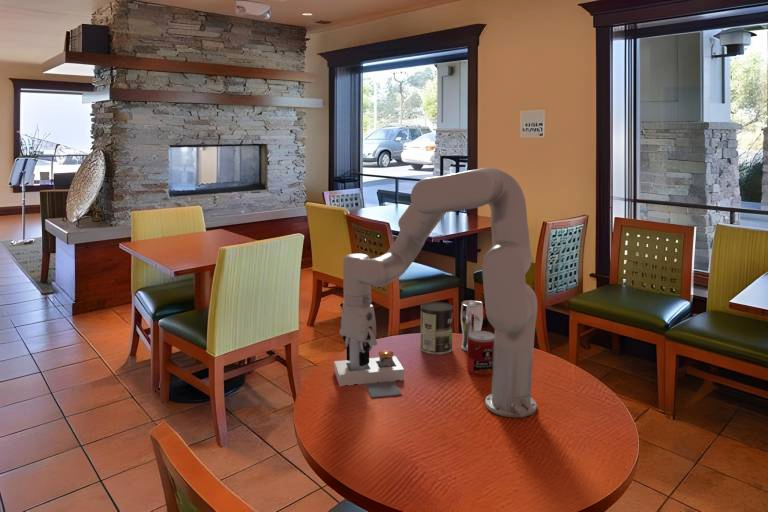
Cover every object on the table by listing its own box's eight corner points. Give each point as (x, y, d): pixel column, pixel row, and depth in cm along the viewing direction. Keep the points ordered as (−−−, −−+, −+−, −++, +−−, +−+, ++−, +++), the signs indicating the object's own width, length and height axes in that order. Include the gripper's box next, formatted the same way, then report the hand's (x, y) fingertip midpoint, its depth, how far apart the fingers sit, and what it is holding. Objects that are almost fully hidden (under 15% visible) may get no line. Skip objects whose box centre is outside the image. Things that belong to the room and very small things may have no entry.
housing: (404, 380, 157) (404, 369, 156) (339, 386, 153) (339, 375, 152) (395, 366, 166) (395, 356, 166) (334, 371, 162) (334, 361, 162)
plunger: (394, 374, 159) (395, 354, 158) (380, 376, 158) (380, 355, 157) (391, 369, 163) (391, 349, 162) (377, 370, 162) (377, 350, 161)
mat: (401, 395, 147) (401, 393, 147) (371, 398, 146) (371, 396, 146) (394, 382, 155) (394, 381, 155) (365, 385, 153) (365, 384, 153)
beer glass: (455, 346, 182) (456, 301, 179) (473, 343, 185) (475, 298, 182) (467, 353, 176) (468, 307, 173) (486, 350, 179) (487, 304, 176)
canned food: (474, 378, 158) (475, 341, 155) (462, 367, 165) (463, 331, 163) (499, 375, 160) (500, 338, 158) (486, 364, 167) (488, 329, 165)
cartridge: (369, 376, 159) (369, 337, 156) (357, 381, 156) (357, 341, 153) (358, 372, 162) (358, 333, 160) (346, 376, 159) (345, 337, 156)
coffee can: (453, 344, 184) (454, 302, 181) (450, 355, 174) (451, 312, 171) (422, 342, 186) (422, 300, 183) (417, 353, 176) (418, 310, 173)
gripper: (389, 302, 151) (388, 366, 155) (347, 290, 163) (348, 350, 166) (368, 308, 146) (368, 374, 149) (327, 295, 157) (328, 357, 161)
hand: (357, 361), depth 158 cm, fingers closed on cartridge, 4 cm apart
